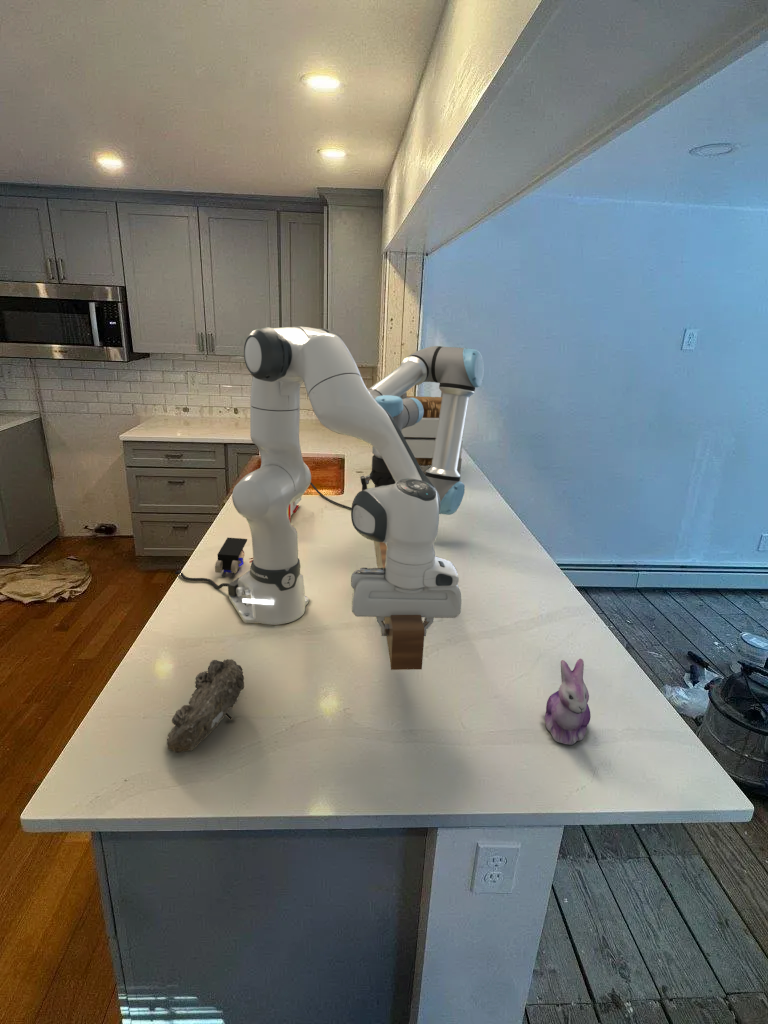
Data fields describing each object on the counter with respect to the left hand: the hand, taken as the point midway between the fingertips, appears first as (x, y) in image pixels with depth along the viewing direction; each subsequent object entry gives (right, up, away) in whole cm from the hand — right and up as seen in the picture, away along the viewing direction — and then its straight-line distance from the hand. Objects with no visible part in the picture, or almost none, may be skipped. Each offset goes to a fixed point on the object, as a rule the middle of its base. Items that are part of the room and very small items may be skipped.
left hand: (403, 634), depth 107 cm
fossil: (-36, -16, +1) cm, 40 cm away
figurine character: (-49, +6, +60) cm, 78 cm away
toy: (-42, +22, +104) cm, 114 cm away
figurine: (+31, -19, +2) cm, 37 cm away
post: (-2, +7, +26) cm, 27 cm away
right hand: (-4, +17, +51) cm, 54 cm away
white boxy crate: (+14, +42, +168) cm, 173 cm away
